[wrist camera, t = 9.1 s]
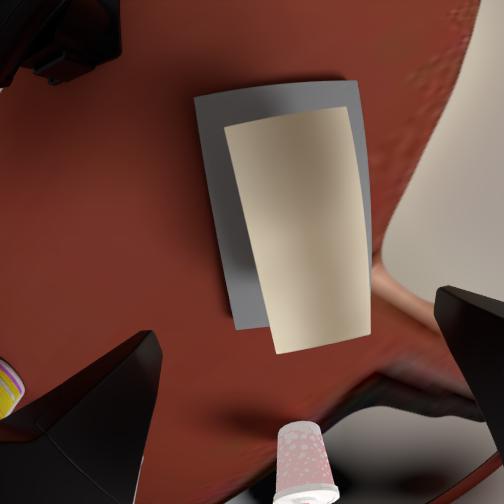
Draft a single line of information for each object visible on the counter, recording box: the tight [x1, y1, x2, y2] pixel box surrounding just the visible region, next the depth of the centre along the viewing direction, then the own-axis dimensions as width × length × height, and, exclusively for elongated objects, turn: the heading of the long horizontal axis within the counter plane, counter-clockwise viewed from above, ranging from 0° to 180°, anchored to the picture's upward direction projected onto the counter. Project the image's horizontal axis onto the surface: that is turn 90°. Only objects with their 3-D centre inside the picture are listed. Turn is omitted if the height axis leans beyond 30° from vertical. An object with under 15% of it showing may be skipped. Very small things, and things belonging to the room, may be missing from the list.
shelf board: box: [224, 107, 370, 354], centre depth 14 cm, size 5×11×3 cm, turn 12°
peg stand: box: [194, 81, 372, 330], centre depth 17 cm, size 16×10×4 cm, turn 8°
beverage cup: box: [273, 421, 339, 504], centre depth 21 cm, size 6×6×14 cm
